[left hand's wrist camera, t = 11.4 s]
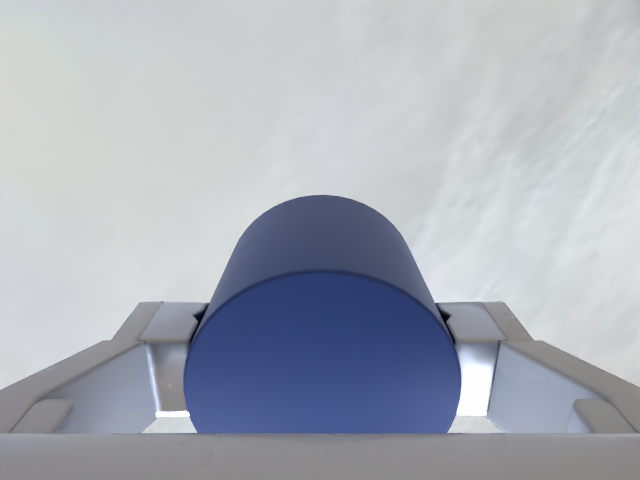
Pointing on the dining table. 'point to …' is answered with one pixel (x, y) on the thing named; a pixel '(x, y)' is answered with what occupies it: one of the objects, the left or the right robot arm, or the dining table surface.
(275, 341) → the canister
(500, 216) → the dining table surface
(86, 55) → the dining table surface
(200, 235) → the dining table surface
